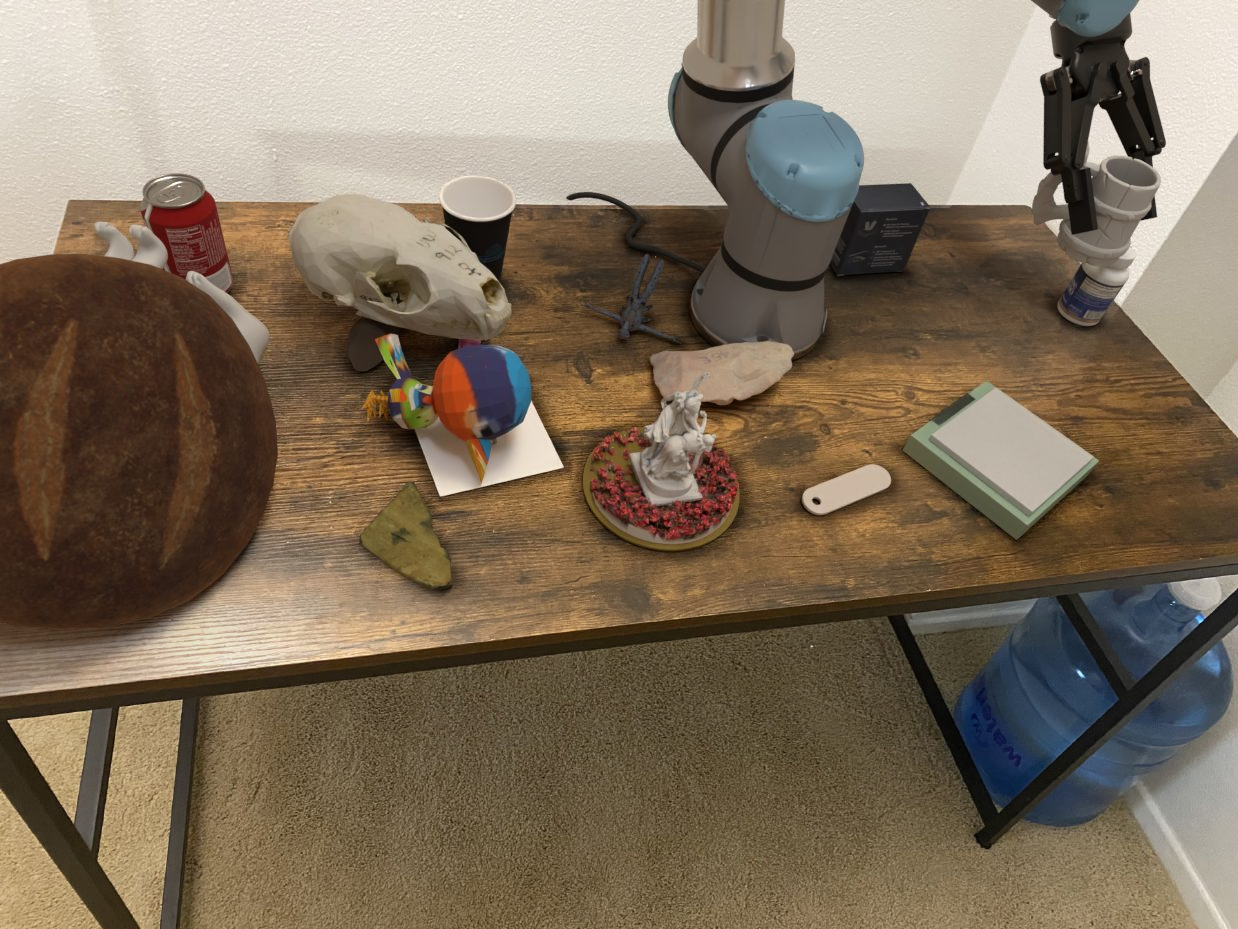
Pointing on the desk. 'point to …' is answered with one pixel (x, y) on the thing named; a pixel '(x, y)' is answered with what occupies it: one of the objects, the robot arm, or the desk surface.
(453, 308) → the skull
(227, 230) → the desk surface
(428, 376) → the desk surface
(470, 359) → the toy
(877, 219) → the box
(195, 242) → the soda can
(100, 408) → the bread
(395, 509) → the stone
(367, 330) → the figurine
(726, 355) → the stone tool
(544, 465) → the thin white square sheet
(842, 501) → the keychain
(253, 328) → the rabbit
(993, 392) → the scale
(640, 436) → the figurine
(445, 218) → the dixie cup
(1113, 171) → the mug
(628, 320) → the figurine
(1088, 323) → the pill bottle
